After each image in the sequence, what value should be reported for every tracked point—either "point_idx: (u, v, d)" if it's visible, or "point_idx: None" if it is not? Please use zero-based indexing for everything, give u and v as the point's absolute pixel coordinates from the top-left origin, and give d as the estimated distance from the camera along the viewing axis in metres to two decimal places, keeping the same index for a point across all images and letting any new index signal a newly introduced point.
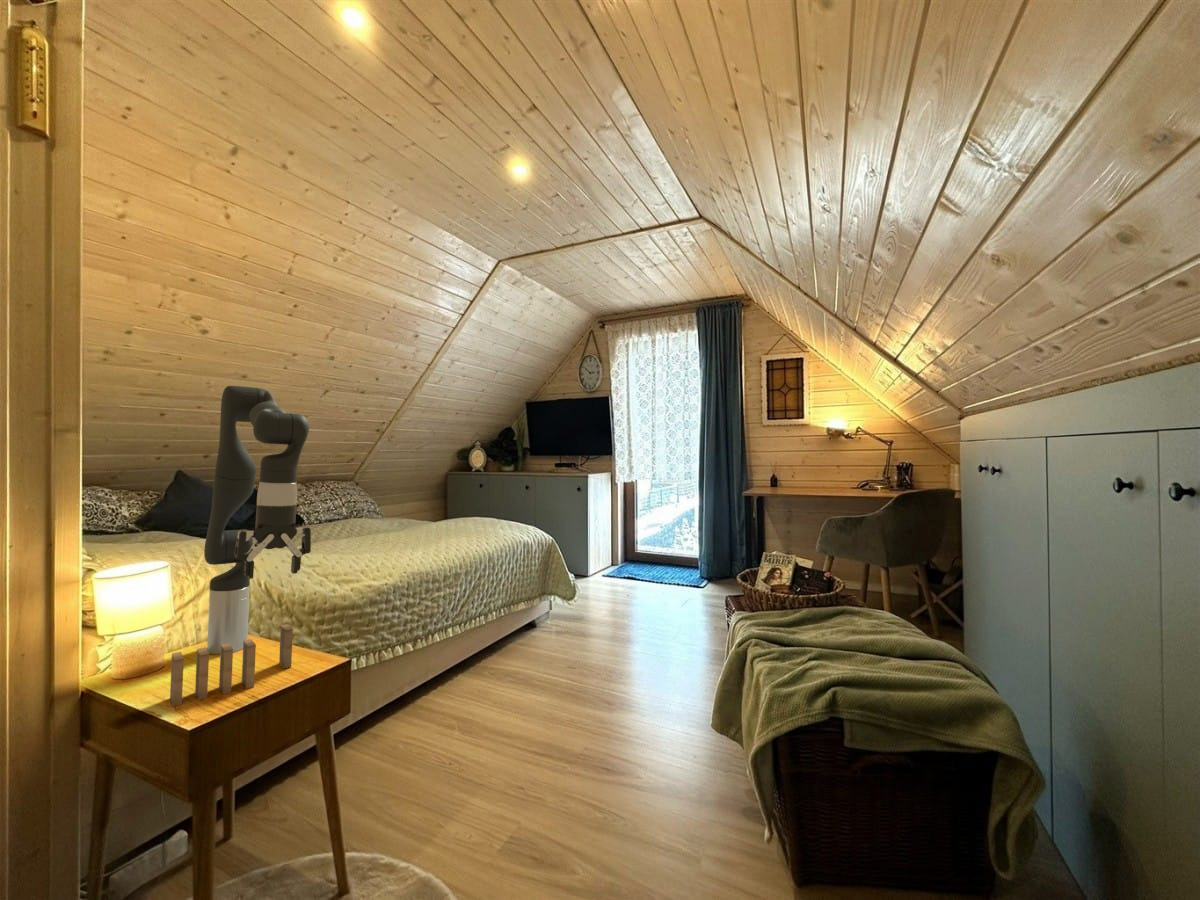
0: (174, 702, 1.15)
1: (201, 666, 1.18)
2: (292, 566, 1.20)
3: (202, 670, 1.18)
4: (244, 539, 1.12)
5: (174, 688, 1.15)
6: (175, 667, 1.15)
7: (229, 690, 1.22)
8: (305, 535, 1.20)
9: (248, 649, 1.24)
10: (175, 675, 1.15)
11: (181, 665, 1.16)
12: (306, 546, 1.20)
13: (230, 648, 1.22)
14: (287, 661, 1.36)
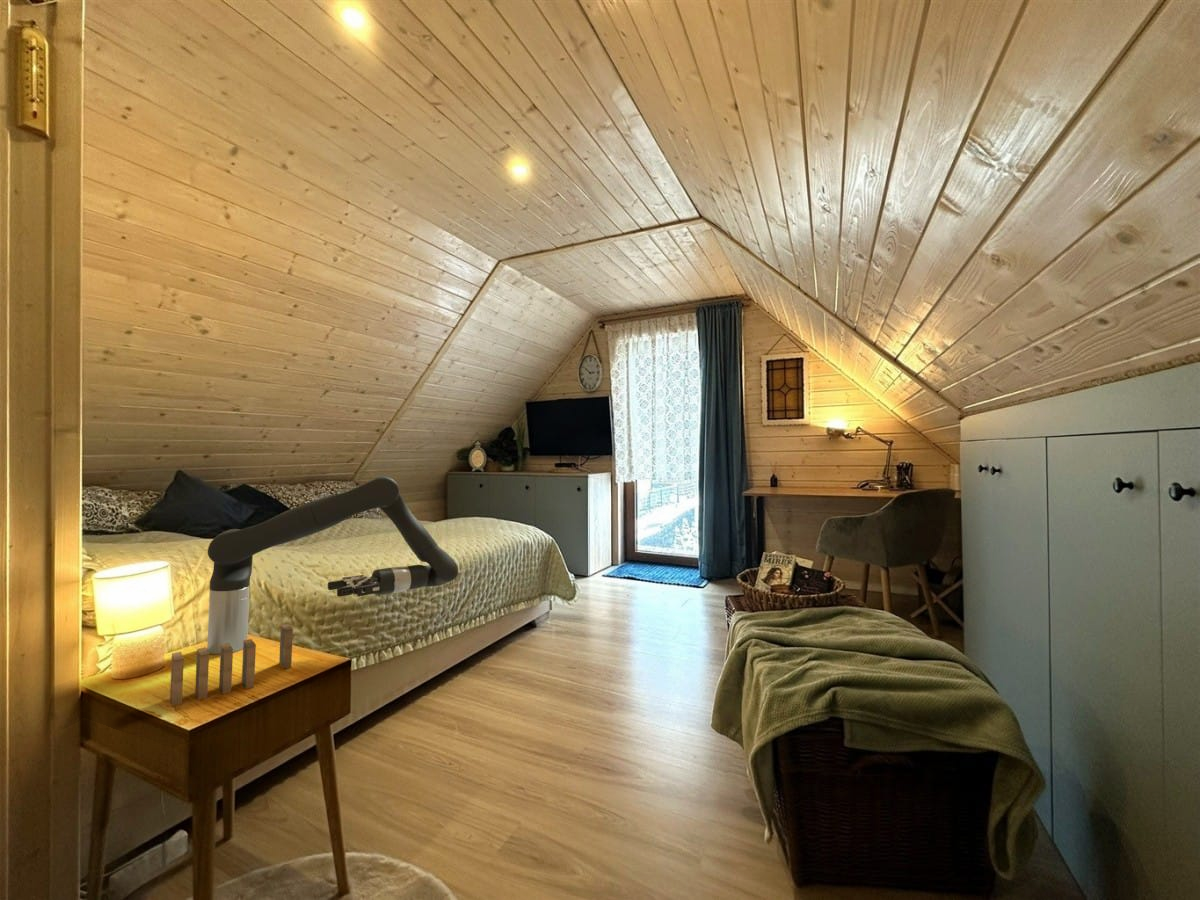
0: (174, 702, 1.15)
1: (201, 666, 1.18)
2: (334, 584, 1.49)
3: (202, 670, 1.18)
4: None
5: (174, 688, 1.15)
6: (175, 667, 1.15)
7: (229, 690, 1.22)
8: None
9: (248, 649, 1.24)
10: (175, 675, 1.15)
11: (181, 665, 1.16)
12: None
13: (230, 648, 1.22)
14: (287, 661, 1.36)
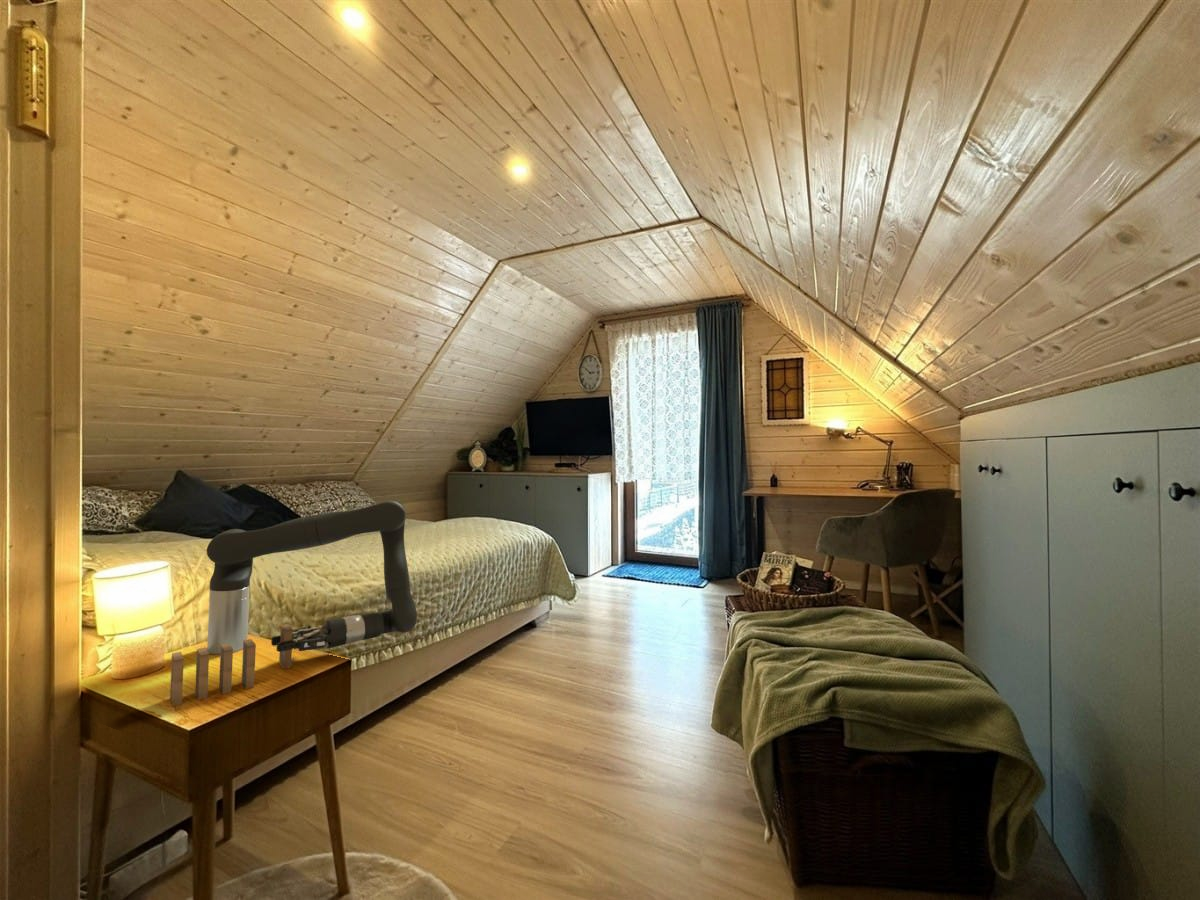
0: (174, 702, 1.15)
1: (201, 666, 1.18)
2: (278, 639, 1.39)
3: (202, 670, 1.18)
4: None
5: (174, 688, 1.15)
6: (175, 667, 1.15)
7: (229, 690, 1.22)
8: None
9: (248, 649, 1.24)
10: (175, 675, 1.15)
11: (181, 665, 1.16)
12: None
13: (230, 648, 1.22)
14: (287, 661, 1.36)
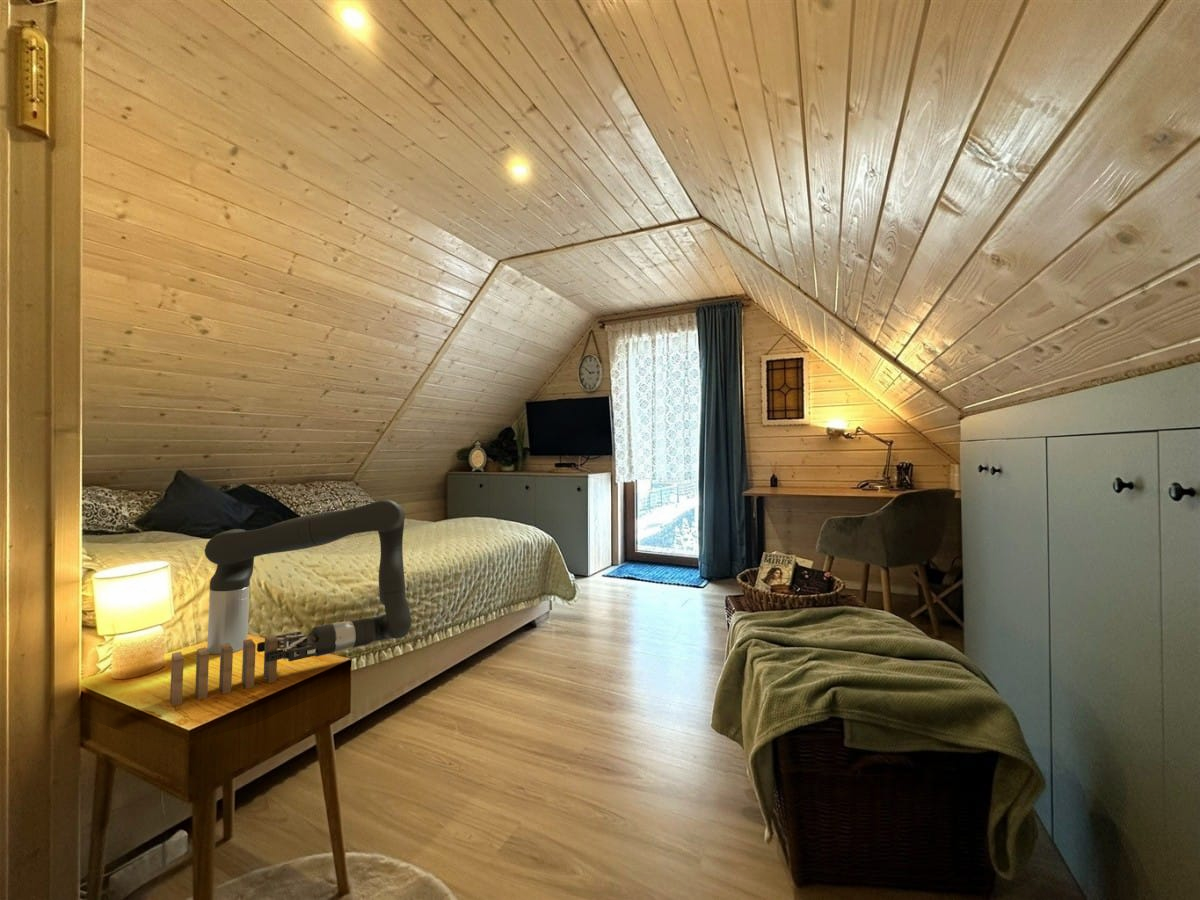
0: (174, 702, 1.15)
1: (201, 666, 1.18)
2: (264, 645, 1.32)
3: (202, 670, 1.18)
4: None
5: (174, 688, 1.15)
6: (175, 667, 1.15)
7: (229, 690, 1.22)
8: None
9: (248, 649, 1.24)
10: (175, 675, 1.15)
11: (181, 665, 1.16)
12: None
13: (230, 648, 1.22)
14: (272, 674, 1.28)
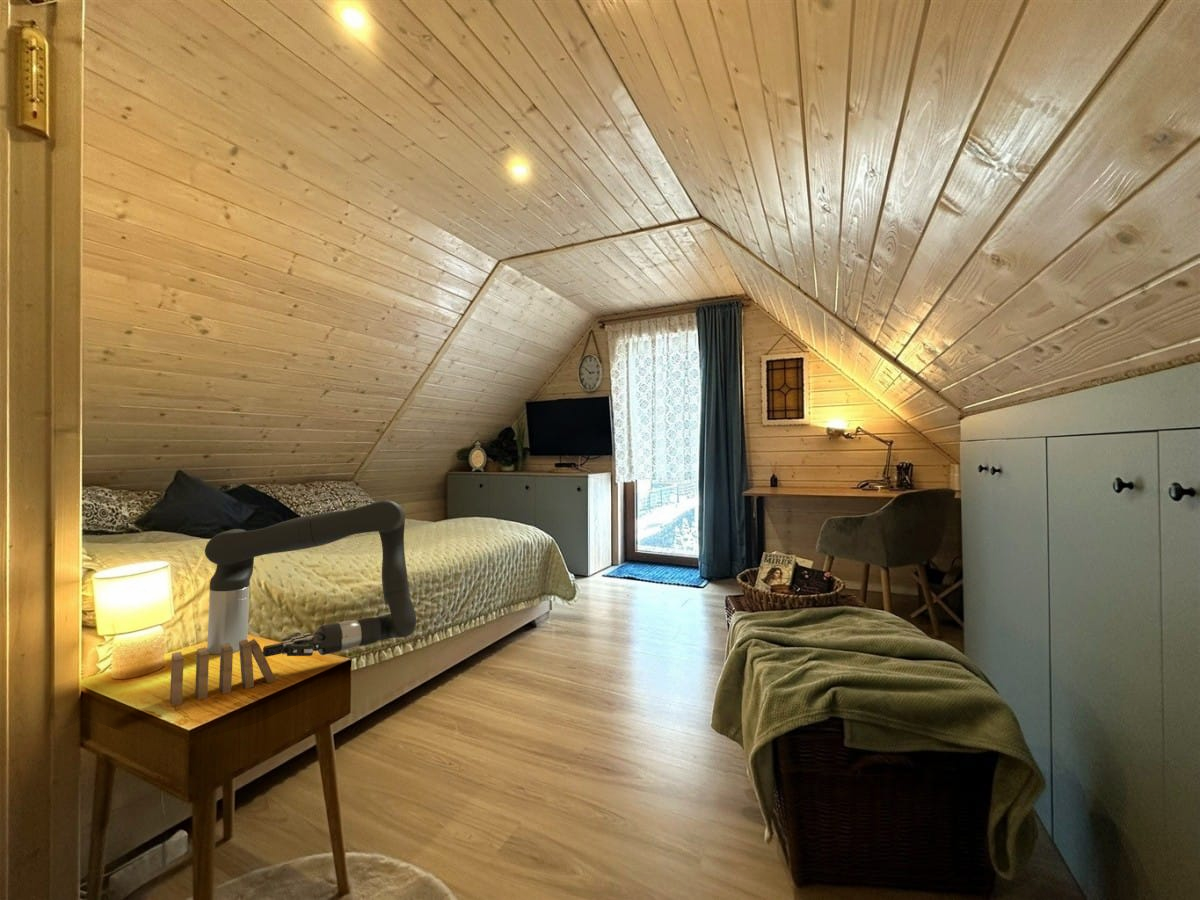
0: (174, 702, 1.15)
1: (201, 666, 1.18)
2: None
3: (202, 670, 1.18)
4: None
5: (174, 688, 1.15)
6: (175, 667, 1.15)
7: (229, 690, 1.22)
8: None
9: (244, 650, 1.24)
10: (175, 675, 1.15)
11: (181, 665, 1.16)
12: None
13: (230, 648, 1.22)
14: (268, 675, 1.27)
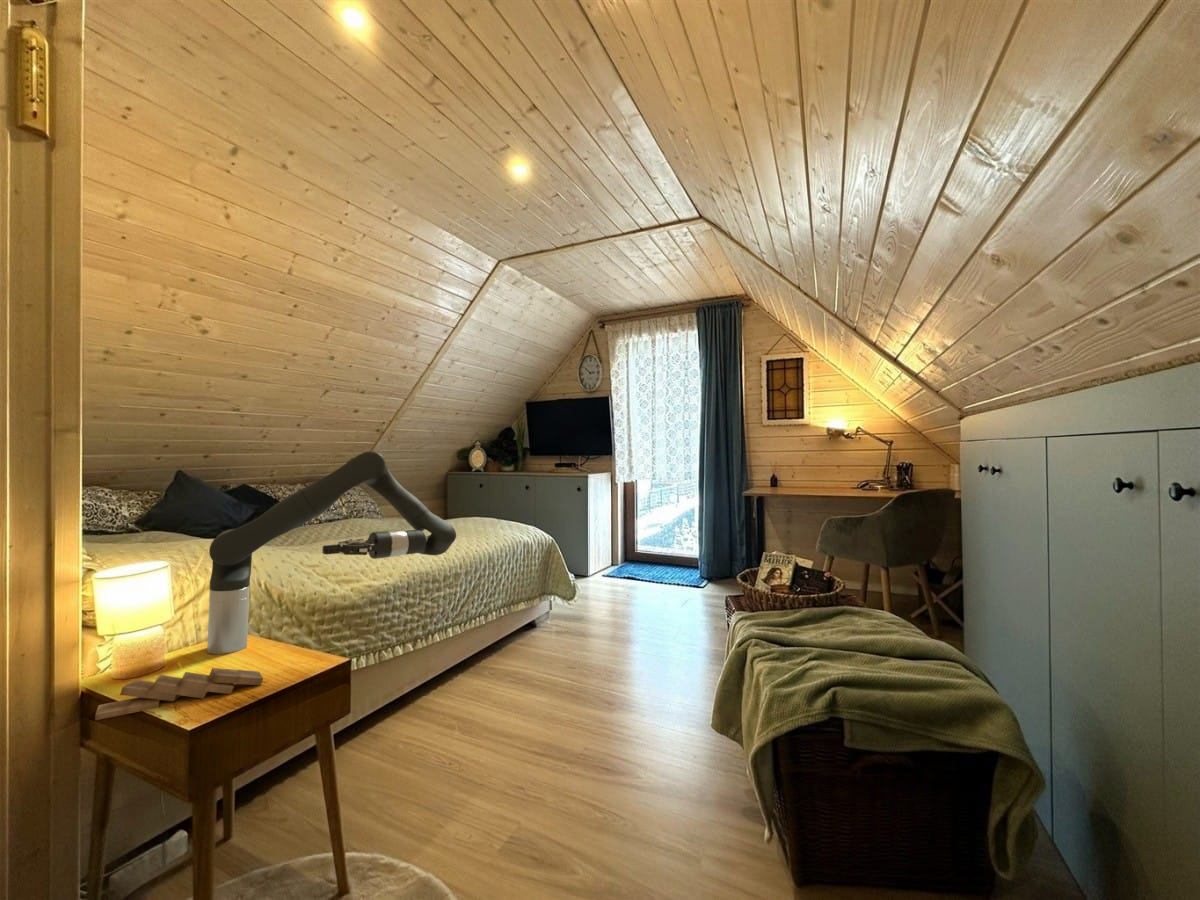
0: None
1: (134, 695, 1.14)
2: None
3: (139, 694, 1.14)
4: None
5: None
6: None
7: (203, 692, 1.18)
8: None
9: (184, 687, 1.16)
10: None
11: (104, 714, 1.09)
12: None
13: (154, 683, 1.15)
14: (253, 681, 1.25)
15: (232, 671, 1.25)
